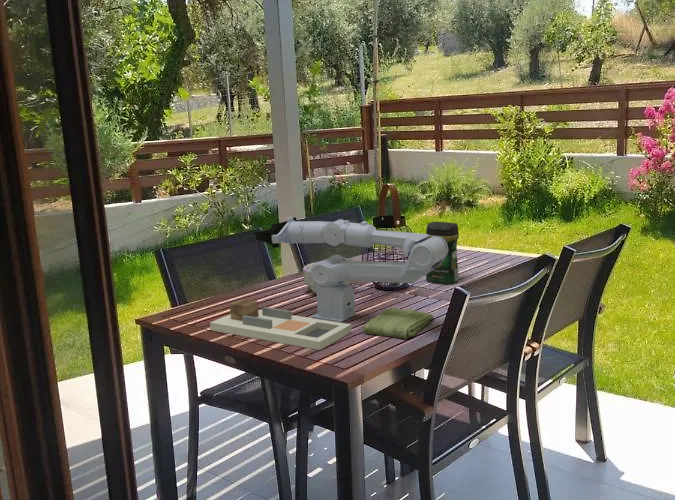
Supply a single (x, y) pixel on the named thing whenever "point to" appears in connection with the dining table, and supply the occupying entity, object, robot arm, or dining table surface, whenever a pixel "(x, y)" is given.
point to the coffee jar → (449, 266)
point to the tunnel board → (284, 328)
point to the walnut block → (243, 309)
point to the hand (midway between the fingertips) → (264, 232)
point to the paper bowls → (309, 280)
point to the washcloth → (397, 323)
